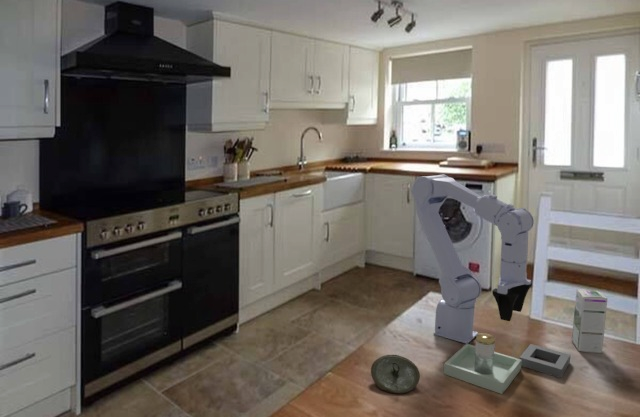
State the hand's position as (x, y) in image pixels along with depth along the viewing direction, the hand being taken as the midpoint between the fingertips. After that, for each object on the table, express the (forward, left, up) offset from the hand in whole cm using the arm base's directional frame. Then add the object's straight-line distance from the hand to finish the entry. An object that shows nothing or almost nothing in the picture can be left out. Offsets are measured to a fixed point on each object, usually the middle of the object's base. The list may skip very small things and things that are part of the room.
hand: (511, 315), depth 115 cm
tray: (-2, -12, -10) cm, 16 cm away
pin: (-2, -12, -10) cm, 16 cm away
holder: (+8, +1, -10) cm, 13 cm away
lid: (-15, -28, -11) cm, 34 cm away
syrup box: (+14, +17, -11) cm, 25 cm away
